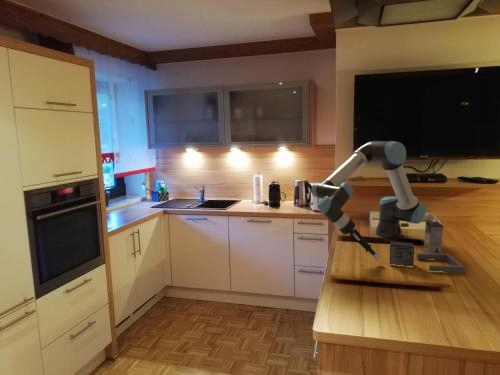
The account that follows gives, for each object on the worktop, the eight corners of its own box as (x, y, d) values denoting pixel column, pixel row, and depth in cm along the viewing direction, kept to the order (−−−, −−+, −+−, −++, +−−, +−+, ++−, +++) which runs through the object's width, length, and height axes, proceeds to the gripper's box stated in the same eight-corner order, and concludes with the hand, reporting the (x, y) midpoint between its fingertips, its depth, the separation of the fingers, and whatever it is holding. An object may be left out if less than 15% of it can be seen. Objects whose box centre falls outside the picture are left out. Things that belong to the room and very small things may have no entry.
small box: (412, 263, 181) (413, 242, 179) (413, 268, 175) (415, 246, 173) (389, 261, 184) (390, 240, 183) (389, 266, 178) (390, 244, 177)
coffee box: (423, 250, 201) (425, 220, 198) (436, 251, 199) (438, 221, 197) (427, 256, 192) (430, 225, 189) (441, 256, 191) (443, 226, 188)
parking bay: (416, 258, 188) (416, 253, 187) (447, 259, 186) (448, 253, 186) (430, 272, 170) (430, 266, 169) (465, 273, 169) (465, 267, 168)
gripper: (336, 225, 186) (369, 258, 187) (340, 232, 173) (375, 268, 174) (347, 215, 185) (381, 248, 186) (352, 221, 172) (388, 257, 173)
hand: (378, 258), depth 180 cm, fingers closed
